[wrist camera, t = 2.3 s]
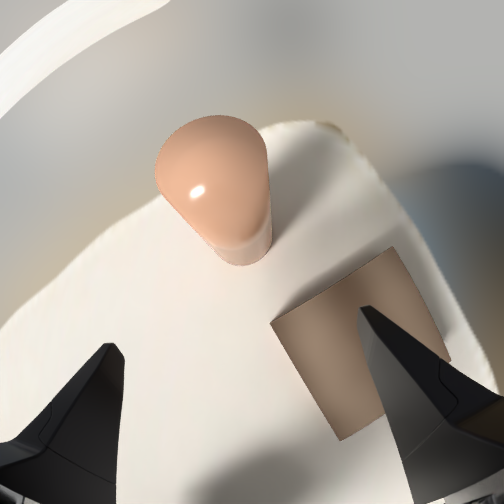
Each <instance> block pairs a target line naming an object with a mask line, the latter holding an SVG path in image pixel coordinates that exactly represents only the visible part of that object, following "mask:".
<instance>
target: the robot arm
mask: <svg viewBox="0 0 504 504" xmlns="http://www.w3.org/2000/svg"><path fill="white" fill-rule="evenodd" d="M357 330H358V333H359V337H360V341H361V344H362V348H363V351H364V355H365V359H366V362H367V366H368V369H369V371H370V374H371V376H372V379H373V382H374V384H375V387H376V389H377V392H378V395H379V397H380V400H381V403H382V405H383V408H384V411H385V413H386V416H387V419H388V422H389V425H390V427H391V430H392V433H393V436H394V439H395V442H396V445H397V448H398V451H399V454H400V457H401V460H402V464H403V467H404V470H405V474H406V477H407V480H408V484H409V487H410V490H411V494H412V498H413V501H414V504H427V503H430V502H433V501H436V500H438V499H441V498H444V500H445V503H444V504H504V397H503V396H500V395H498V394H495V393H494V392H492V391H490V390H489V389H487V388H485V387H484V386H482V385H480V384H479V383H477V382H476V381H474V380H472V379H471V378H469V377H467V376H466V375H464V374H463V373H461V372H460V371H458V370H457V369H456V368H454V367H453V366H451V365H450V364H449V363H447V362H446V361H445V360H444V359H442V358H440V357H439V356H438V355H437V354H436V353H434V352H433V351H432V350H430V349H429V348H428V347H426V346H425V345H424V344H422V343H421V342H420V341H418V340H417V339H416V338H415V337H413V336H412V335H411V334H409V333H408V332H407V331H405V330H404V329H403V328H401V327H400V326H398V325H397V324H396V323H394V322H393V321H392V320H390V319H389V318H388V317H386V316H385V315H384V314H382V313H381V312H380V311H378V310H377V309H375V308H374V307H373V306H371V305H365V306H361V307H359V308H358V314H357ZM124 366H125V359H124V356H123V354H122V353H121V352H120V350H119V349H118V347H117V346H116V345H115V344H114V343H104V344H103V345H102V346H101V347H100V348H99V349H98V350H97V351H96V352H95V353H94V354H93V356H92V357H91V358H90V359H89V360H88V361H87V362H86V363H85V364H84V365H83V366H82V367H81V368H80V369H79V371H78V372H77V373H76V374H75V375H74V376H73V377H72V378H71V379H70V380H69V381H68V383H67V384H66V385H65V386H64V387H63V388H62V389H61V390H60V391H59V393H58V394H57V395H56V396H55V397H54V398H53V399H52V402H50V403H49V404H48V405H47V406H46V407H45V408H44V409H43V411H42V412H41V413H40V414H39V415H38V416H37V417H36V418H35V419H34V420H33V421H32V422H31V423H30V424H29V425H28V426H27V427H26V428H25V429H24V430H23V431H22V432H21V433H20V434H19V435H18V436H17V437H16V438H14V439H13V440H11V441H8V442H3V443H0V504H116V473H117V454H118V440H119V429H120V419H121V410H122V402H123V390H124Z"/></svg>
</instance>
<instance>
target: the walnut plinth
mask: <svg viewBox="0 0 504 504" xmlns="http://www.w3.org/2000/svg"><path fill="white" fill-rule="evenodd" d="M365 305H371V306H373V307H374V308H375V309H377V310H378V311H380V312H381V313H382V314H384V315H385V316H386V317H388V318H389V319H390V320H392V321H393V322H394V323H396V324H397V325H398V326H400V327H401V328H403V329H404V330H405V331H407V332H408V333H409V334H411V335H412V336H413V337H415V338H416V339H417V340H418V341H420V342H421V343H422V344H424V345H425V346H426V347H428V348H429V349H430V350H432V351H433V352H434V353H436V354H437V355H438V356H439V357H440V358H442V359H444V360H445V361H446V362H447V363H449V362H450V361H451V358H450V356H449V353H448V351H447V349H446V346H445V344H444V342H443V340H442V337H441V335H440V333H439V331H438V329H437V327H436V325H435V322H434V320H433V318H432V316H431V314H430V312H429V310H428V308H427V306H426V304H425V302H424V300H423V298H422V297H421V295H420V293H419V291H418V289H417V287H416V285H415V284H414V282H413V280H412V278H411V276H410V275H409V273H408V271H407V269H406V267H405V266H404V264H403V262H402V261H401V259H400V257H399V256H398V254H397V252H396V251H395V249H394V247H393V246H392V247H391V248H389V249H387V250H386V251H384V252H383V253H381V254H380V255H378V256H377V257H375V258H374V259H372V260H371V261H369V262H368V263H366V264H365V265H363V266H362V267H360V268H359V269H357V270H356V271H354V272H353V273H351V274H350V275H348V276H347V277H345V278H343V279H342V280H340V281H339V282H337V283H336V284H334V285H332V286H331V287H329V288H328V289H326V290H324V291H323V292H321V293H319V294H318V295H316V296H315V297H313V298H311V299H310V300H308V301H306V302H305V303H303V304H301V305H300V306H298V307H296V308H295V309H293V310H291V311H289V312H288V313H286V314H284V315H283V316H281V317H279V318H277V319H276V320H274V321H272V322H270V325H271V326H272V328H273V330H274V332H275V333H276V335H277V337H278V339H279V340H280V342H281V344H282V345H283V347H284V349H285V351H286V352H287V354H288V356H289V357H290V359H291V361H292V362H293V364H294V366H295V368H296V369H297V371H298V373H299V374H300V376H301V378H302V379H303V381H304V383H305V384H306V386H307V388H308V389H309V391H310V393H311V394H312V396H313V398H314V399H315V401H316V403H317V404H318V406H319V408H320V409H321V411H322V413H323V414H324V416H325V418H326V419H327V421H328V423H329V424H330V426H331V428H332V429H333V431H334V432H335V434H336V436H337V437H338V439H339V441H342V440H344V439H346V438H347V437H349V436H351V435H352V434H354V433H356V432H357V431H359V430H361V429H362V428H364V427H366V426H367V425H369V424H370V423H372V422H373V421H375V420H376V419H378V418H379V417H381V416H382V415H384V414H385V411H384V408H383V405H382V403H381V400H380V397H379V395H378V392H377V389H376V387H375V384H374V382H373V379H372V376H371V374H370V371H369V369H368V366H367V362H366V359H365V355H364V351H363V348H362V344H361V341H360V337H359V333H358V330H357V314H358V308H359V307H361V306H365Z"/></svg>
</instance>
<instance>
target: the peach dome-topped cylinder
mask: <svg viewBox="0 0 504 504" xmlns="http://www.w3.org/2000/svg"><path fill="white" fill-rule="evenodd" d="M155 179H156V183H157V186H158V189H159V190H160V192H161V194H162V195H163V196H164V198H165V199H166V200H167V201H168V202H169V203H170V204H171V205H172V207H173V208H174V209H175V210H176V211H177V212H178V213H179V214H180V215H181V216H182V217H183V218H184V220H185V221H186V222H187V223H188V224H189V225H190V226H191V227H192V228H193V229H194V230H195V231H196V232H197V233H198V235H199V236H200V237H201V238H202V239H203V240H204V241H205V242H206V243H207V244H208V245H209V246H210V247H211V248H212V249H213V250H214V251H215V253H216V254H217V255H218V256H219V257H220V258H221V259H223V260H224V261H226V262H227V263H229V264H232V265H237V266H245V265H250V264H253V263H255V262H257V261H258V260H260V259H261V258H262V257H263V256H264V255H265V254H266V253H267V251H268V250H269V248H270V246H271V243H272V220H271V204H270V189H269V175H268V161H267V150H266V146H265V143H264V141H263V138H262V137H261V135H260V134H259V133H258V131H257V130H256V129H255V128H254V127H252V126H251V125H250V124H248V123H247V122H245V121H243V120H241V119H238V118H235V117H230V116H221V115H215V116H207V117H203V118H199V119H196V120H193V121H191V122H189V123H187V124H186V125H184V126H182V127H180V128H179V129H178V130H176V131H175V132H174V133H173V134H172V135H171V136H170V137H169V138H168V139H167V140H166V142H165V143H164V145H163V146H162V148H161V150H160V152H159V154H158V157H157V160H156V164H155Z"/></svg>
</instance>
